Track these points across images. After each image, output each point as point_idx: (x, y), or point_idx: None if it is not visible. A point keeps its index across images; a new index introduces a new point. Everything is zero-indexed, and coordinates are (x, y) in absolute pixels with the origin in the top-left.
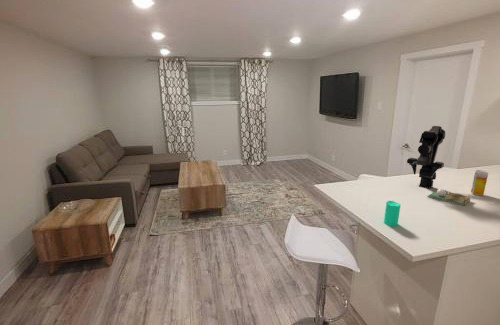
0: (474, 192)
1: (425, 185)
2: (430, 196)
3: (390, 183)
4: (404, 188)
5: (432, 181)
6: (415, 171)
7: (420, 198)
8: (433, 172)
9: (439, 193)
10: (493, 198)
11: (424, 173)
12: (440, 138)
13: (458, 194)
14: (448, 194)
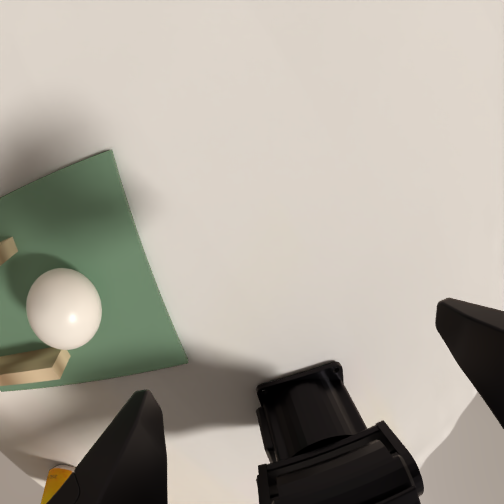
0: (63, 475)
1: (296, 392)
2: (97, 182)
3: (493, 217)
4: (390, 195)
5: (267, 452)
6: (472, 354)
7: (127, 47)
8: (69, 486)
9: (52, 270)
10: (23, 467)
11: (353, 470)
12: None
13: (5, 372)
14: (59, 353)
